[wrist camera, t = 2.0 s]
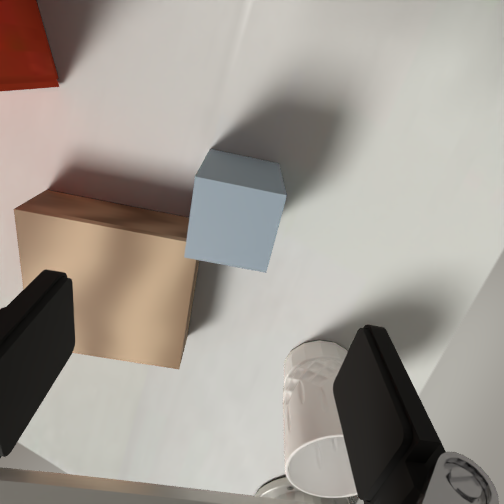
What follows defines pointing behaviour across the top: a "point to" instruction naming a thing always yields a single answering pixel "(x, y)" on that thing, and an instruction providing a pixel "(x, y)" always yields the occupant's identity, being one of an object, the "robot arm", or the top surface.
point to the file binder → (24, 48)
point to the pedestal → (114, 273)
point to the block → (235, 211)
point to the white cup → (315, 422)
